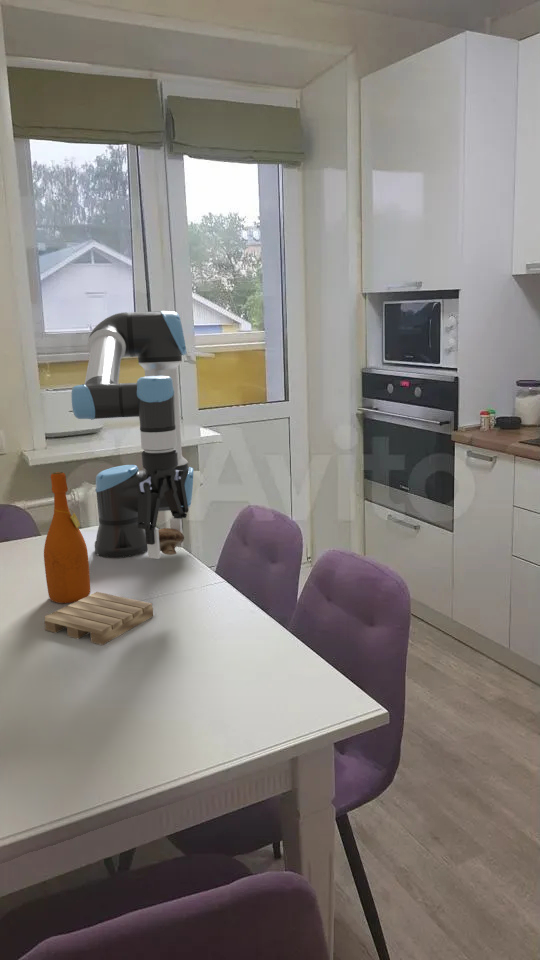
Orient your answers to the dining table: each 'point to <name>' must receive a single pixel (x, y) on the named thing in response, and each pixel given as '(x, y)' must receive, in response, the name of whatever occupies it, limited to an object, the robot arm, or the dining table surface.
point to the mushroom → (169, 540)
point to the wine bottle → (65, 550)
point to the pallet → (99, 617)
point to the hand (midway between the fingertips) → (166, 551)
